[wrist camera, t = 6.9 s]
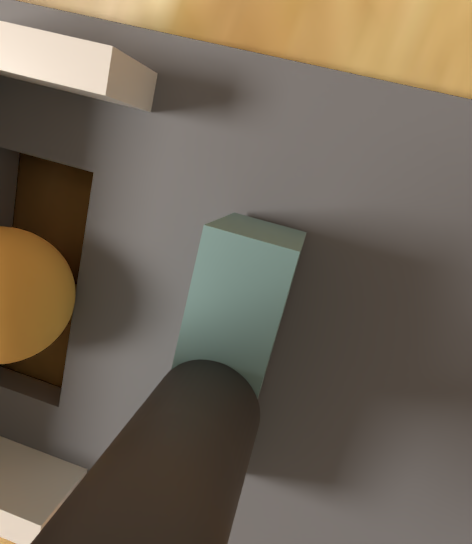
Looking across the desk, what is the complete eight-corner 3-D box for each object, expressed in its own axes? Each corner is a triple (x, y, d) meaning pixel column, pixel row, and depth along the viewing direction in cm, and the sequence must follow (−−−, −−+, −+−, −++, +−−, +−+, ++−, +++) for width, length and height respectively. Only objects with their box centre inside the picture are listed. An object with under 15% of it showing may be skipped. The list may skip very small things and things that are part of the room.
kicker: (314, 234, 11) (274, 436, 2) (240, 480, 13) (83, 1049, 5) (227, 210, 11) (-72, 317, 3) (169, 454, 14) (-104, 940, 5)
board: (725, 165, 10) (767, 163, 9) (469, 640, 14) (479, 673, 13) (-36, -3, 13) (-64, -17, 12) (-63, 433, 17) (-86, 448, 16)
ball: (-120, 214, 11) (10, 207, 14) (-122, 356, 12) (-1, 315, 15) (7, 261, 10) (111, 241, 13) (-8, 412, 11) (92, 354, 14)
